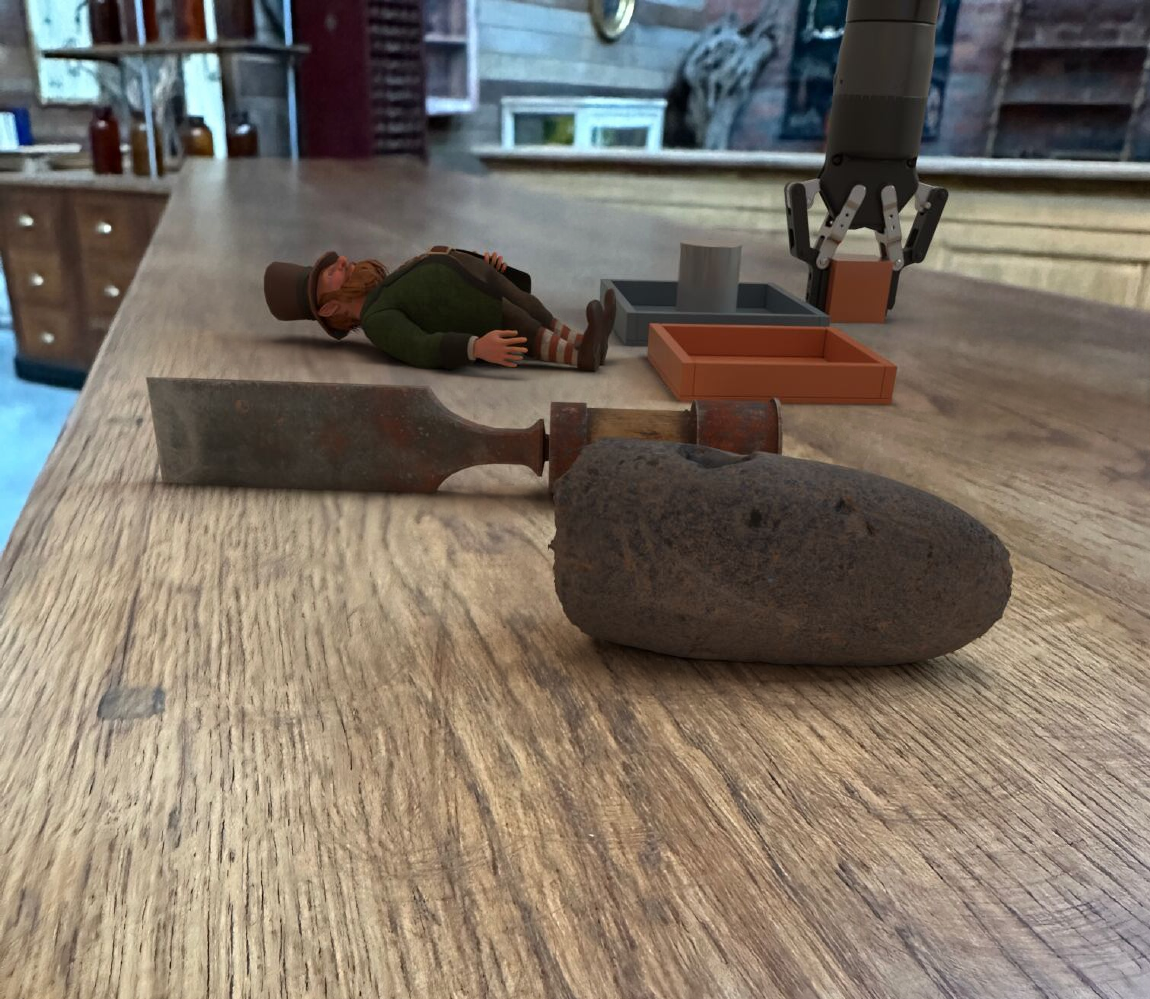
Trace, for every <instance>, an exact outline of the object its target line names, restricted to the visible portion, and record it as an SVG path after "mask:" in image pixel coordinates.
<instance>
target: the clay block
mask: <svg viewBox="0 0 1150 999" xmlns="http://www.w3.org/2000/svg"><path fill="white" fill-rule="evenodd" d="M893 264H894V262H892V261H890V260H887V259H884V258H882V257H881V256H880V255H876V254H860V253H858V254H857V253H856V254H855V253H834V255H833V258H832V260H831V262H830V264H829V266H828V268H827V269H828V270H830V276H829V283H828V291H827V298H826V305H825V312H824V313H825V314H827V315H828V316H830V323H865V324H866V323H867V324H884V323H885V319H886V316H885V313H886V307H887V300H888V294H889V288H890V282H891V276H892V270H893Z"/></svg>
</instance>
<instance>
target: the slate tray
mask: <svg viewBox="0 0 1150 999" xmlns="http://www.w3.org/2000/svg"><path fill="white" fill-rule="evenodd" d="M599 283H600V284H599V302H600V303H601V305H602V308H603V311H604V296H605V293H606V291H607V290H608V289H611V288H612V289H614V292H615V297H616V317H615V322H614V326H613V330H614V331H615V332H616V335H617V336H618V337H619V339H620V340H621V341H622V343H623V344H624V346H633V347H634V346H637V347H639V346H641V347H648V337H649V324H650V323H659V324H708V325H760V326H811V327H830V323H831V322H830V316H828V315H827V314H825V313H823V312H822V311H820V310H818V309H817V308H815V307H813V306H812V305H810V304H808V303H807V302H806V301H805V300H803V299H802V298H800V297H799V296H797V295H795V294H793V293H792V292H790V291H788V290H786V289H785V288H784V287H781V286H780V285H779V284H776V283H775V282H760V281H759V282H756V281H755V282H754V281H750V282H749V281H739V288H738V298H737V308H736V313H709V312H675V305H676V292H677V280H670V279H669V280H668V279H630V278H629V279H627V278H625V279H624V278H622V279H621V278H600V280H599Z"/></svg>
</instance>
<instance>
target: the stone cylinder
mask: <svg viewBox="0 0 1150 999" xmlns="http://www.w3.org/2000/svg"><path fill="white" fill-rule="evenodd" d="M742 255H743V243H741V242H738V241H731V240H723V239H705V238H692V239H683V240H681V241H679V252H678V264H677V266H678V267H677V279H676V281H677V292H676V305H675V312H709V313H736V308H737V298H738V288H739V282H740V278H741V277H740V276H741V269H742V268H741V266H742Z"/></svg>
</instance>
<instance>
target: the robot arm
mask: <svg viewBox="0 0 1150 999" xmlns="http://www.w3.org/2000/svg"><path fill="white" fill-rule="evenodd" d="M940 3H941V0H848V1H847V8H846V16H845V22H846V23H845V24H844V30H843V35H842V37H841V42H840V47H839V52H838V55H837V60H836V61H837V62H836V69H835V73H834V75H833V80H832V87H833V93H832V101H831V108H830V116H829V124H828V131H827V139H826V148H825V155H824V156H825V157H824V162H823V165H822V168H821V169H820V171H819V172H818V174H817V176H816V178H813V179H812V178H811V179H808V180H804V181H800V182H797V181H793V180H791V181H788V182H786V183H785V185H784V188H783V194H784V205H785V206H784V207H785V215H786V217H785V218H786V228H787V238H788V248H789V254H790V256H792V257H794V258H796V259H798V260H800V261H802V262H805V264H807V266H808V272H807V273H808V274H807V282H806V289H805V290H806V291H805V298H804V301H805V302H807V303H808V304H810V305H812V306H813V307H815V308H817V309H818V310H820V311H822V312H823V313H824V312H825V305H826V298H827V291H828V283H829V276H830V270H828V269H827V268H828V266H829V264H830V262H831V260H832V258H833V255H834V254H836V251H837V249H838V247H839V245H840V244H842V242H843V240H844V238H845V236H846V235H847V232H848V231H849V230H850V231H856V230H859V229H860V230H861V229H863V228H865V229H867V230H871V231H873V232H874V236H875V240H876V242H877V244H878V250H879V257H882V258H884V259H887V260H890V261H892V262H894V264H893V270H892V276H891V282H890V288H889V294H888V300H887V307H886V313H885V317H887V315H888V311H892V310H893V308H894V306H895V304H896V298H897V294H898V293H897V291H898V287H899V281H900V274H901V272H902V271H903V269H904V268H905V267H909V266H910V265H914V264H921V263H922V262H924V260H925V259H926V257H927V253H928V251H929V248H930V246H931V243H932V241H933V239H934V235H935V233H936V230H937V228H938V224H939V223H940V220H941V217H942V216H943V212H944V209H945V207H946V204H947V202H948V199H949V195H950V194H949V191H948V189H947V188H945V187H942V186H937V185H929V184H926V183H923V182H920V179H919V175H918V170H917V162H918V158H919V153H920V147H921V141H922V136H923V129H924V123H925V118H926V110H927V105H928V104H927V103H928V99H929V93H930V86H931V81H932V74H933V68H934V62H935V48H936V47H935V46H936V45H935V44H936V31H937V26H936V25H937V22H938V16H939V10H940ZM817 193H818V194H819V196H820V198H821V200H822V202H823V204H824V206H825V208H826V210H827V212H826V215H825V218H824V219H823V221H822V223H821V226H820V227H819V230H818V234H817V235H818V236H817V238H816V241H815V242H814V244H813V247H811V239H810V225H809V214H808V210H810V209H811V208H812V207H813V206H814V203H815V202H814V201H815V197H816V195H817ZM913 197H914V201H915V202H914V206H913V207H914V209H915V211H917V212H916V215H915V217H914V220H913V223H912V225H911V228H910V230H909V233H908V235H907V238H906V241H905V243H904V247H903V246H902V240H903V234H902V229H901V228H902V227H901V221H900V216H899V214H901V212H902V211H903V209H904V208H905V207H906V206H907V204H908V203H909V202H910V201H911V199H912V198H913Z"/></svg>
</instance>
